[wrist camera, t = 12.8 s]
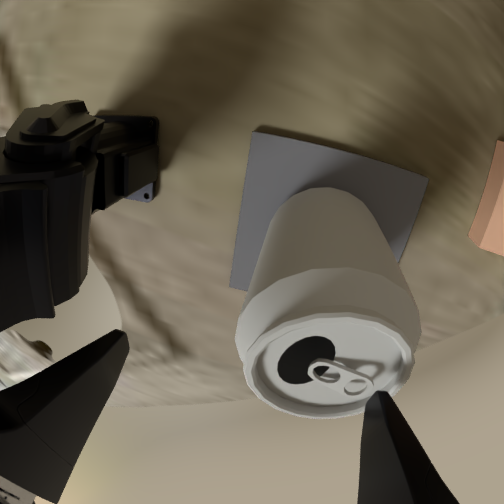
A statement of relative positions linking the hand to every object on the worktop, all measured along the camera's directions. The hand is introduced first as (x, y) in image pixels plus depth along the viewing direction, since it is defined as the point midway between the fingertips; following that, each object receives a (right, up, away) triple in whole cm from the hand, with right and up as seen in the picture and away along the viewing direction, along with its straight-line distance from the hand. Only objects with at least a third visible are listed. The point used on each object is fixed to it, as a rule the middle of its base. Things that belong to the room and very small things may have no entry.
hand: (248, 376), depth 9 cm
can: (+5, +5, +11) cm, 13 cm away
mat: (+5, +5, +11) cm, 13 cm away
